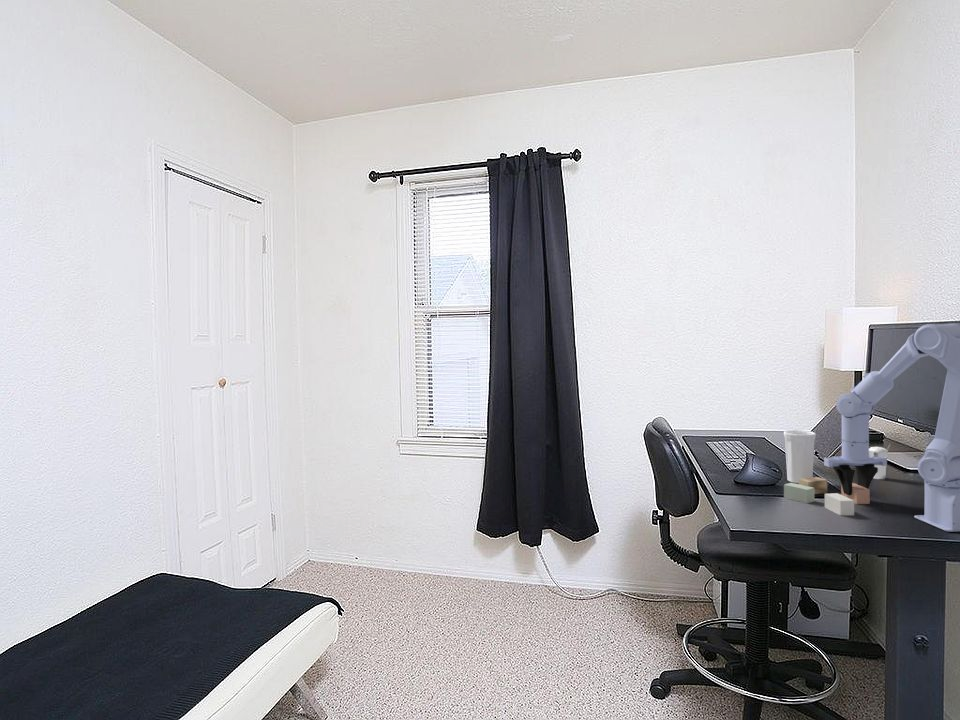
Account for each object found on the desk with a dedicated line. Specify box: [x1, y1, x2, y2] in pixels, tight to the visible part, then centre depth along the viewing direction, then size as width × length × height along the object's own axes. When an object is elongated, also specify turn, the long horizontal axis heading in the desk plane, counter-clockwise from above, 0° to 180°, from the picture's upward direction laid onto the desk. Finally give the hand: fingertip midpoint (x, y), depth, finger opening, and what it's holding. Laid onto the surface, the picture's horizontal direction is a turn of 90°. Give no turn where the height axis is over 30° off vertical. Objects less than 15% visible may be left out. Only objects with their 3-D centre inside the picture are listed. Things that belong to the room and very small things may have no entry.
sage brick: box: [783, 482, 815, 504], centre depth 143 cm, size 6×3×4 cm, turn 30°
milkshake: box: [869, 443, 891, 480], centre depth 161 cm, size 4×5×10 cm
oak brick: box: [798, 476, 828, 495], centre depth 149 cm, size 6×3×4 cm, turn 103°
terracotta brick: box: [840, 482, 871, 505], centre depth 141 cm, size 6×3×4 cm, turn 179°
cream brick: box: [824, 492, 855, 516], centre depth 133 cm, size 6×3×4 cm, turn 0°
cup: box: [783, 429, 817, 484], centre depth 159 cm, size 8×8×14 cm
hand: (855, 494), depth 141 cm, fingers closed on terracotta brick, 3 cm apart
